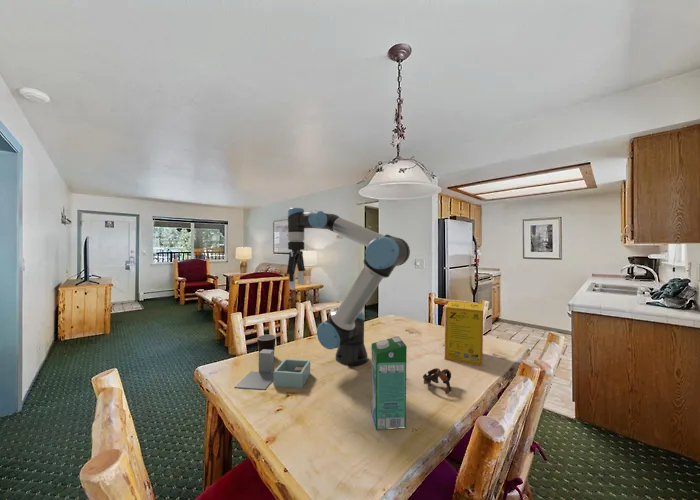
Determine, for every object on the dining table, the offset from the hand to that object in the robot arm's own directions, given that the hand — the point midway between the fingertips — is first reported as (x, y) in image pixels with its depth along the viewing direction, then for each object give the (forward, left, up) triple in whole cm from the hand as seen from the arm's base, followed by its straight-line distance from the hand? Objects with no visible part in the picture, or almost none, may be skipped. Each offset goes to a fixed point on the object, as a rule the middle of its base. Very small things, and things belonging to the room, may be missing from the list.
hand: (296, 286), depth 134 cm
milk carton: (-43, +41, -35) cm, 69 cm away
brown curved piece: (-63, +18, -35) cm, 74 cm away
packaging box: (-80, -15, -35) cm, 88 cm away
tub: (-6, +21, -34) cm, 41 cm away
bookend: (+8, +22, -34) cm, 42 cm away
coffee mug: (+14, 0, -35) cm, 37 cm away
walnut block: (-8, +19, -34) cm, 39 cm away
